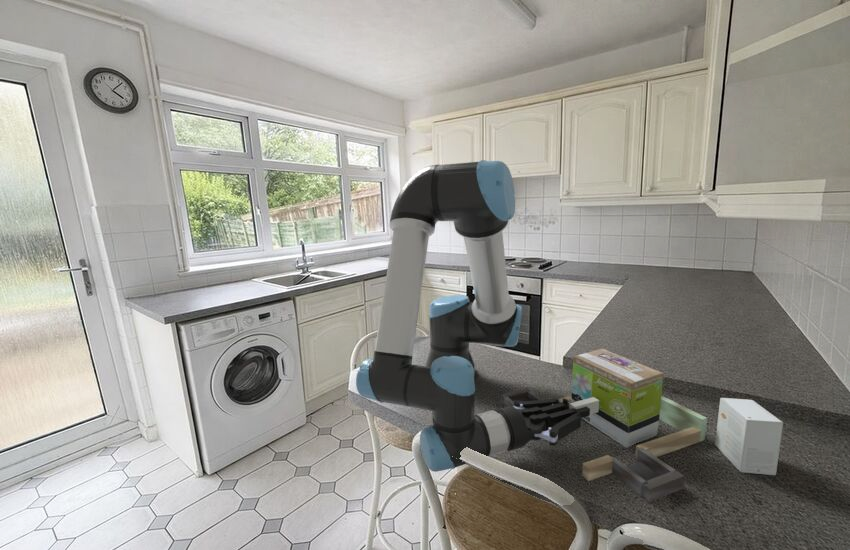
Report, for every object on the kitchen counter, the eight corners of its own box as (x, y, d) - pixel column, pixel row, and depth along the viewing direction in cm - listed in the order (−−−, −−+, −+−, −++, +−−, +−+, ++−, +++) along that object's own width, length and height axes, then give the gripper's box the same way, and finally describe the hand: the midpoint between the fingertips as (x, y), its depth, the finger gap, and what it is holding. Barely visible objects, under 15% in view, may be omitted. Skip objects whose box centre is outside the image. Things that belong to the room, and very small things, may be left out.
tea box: (568, 412, 84) (571, 354, 82) (599, 402, 88) (602, 346, 86) (627, 450, 71) (632, 381, 68) (659, 436, 75) (665, 371, 72)
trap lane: (500, 403, 89) (500, 385, 88) (596, 380, 99) (597, 364, 98) (621, 513, 56) (623, 486, 55) (746, 462, 66) (749, 438, 65)
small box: (776, 476, 63) (785, 422, 61) (739, 473, 64) (747, 420, 62) (745, 447, 70) (753, 398, 68) (713, 444, 71) (719, 396, 70)
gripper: (483, 429, 74) (572, 405, 82) (520, 470, 62) (621, 438, 70) (483, 396, 73) (574, 375, 81) (521, 432, 61) (623, 403, 69)
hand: (595, 404), depth 75 cm, fingers closed
